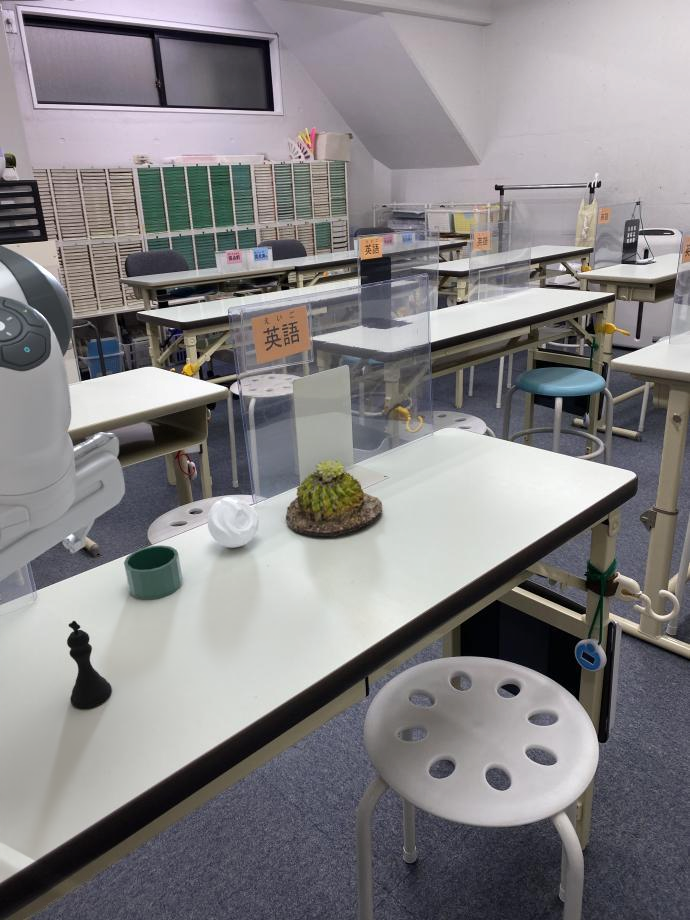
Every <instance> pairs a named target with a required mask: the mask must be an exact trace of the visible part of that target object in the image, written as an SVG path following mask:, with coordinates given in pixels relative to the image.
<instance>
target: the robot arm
mask: <svg viewBox="0 0 690 920" xmlns="http://www.w3.org/2000/svg"><path fill="white" fill-rule="evenodd" d="M73 326H74V317H73V306H72V304H71V300H70V298H69V296H68V293H67V292H66V290H65V289H64V287H63V286H62V284H61V283H60V282H59V280H58V279H56V277H55V276H54V275H52V273H50V272H49V270H47V269H45V268H44V267H43V266H41V265H40V264H39V263H37V262H35V261H34V260H32V259H30V258H29V257H27V256H24V255H22V254H20V253H18V252H17V251H14V250H12V249H10V248H8V247H5V246H4V245H2V244H0V582H1V581H2V580H4V579H6V578H8V577H9V576H10V575H12V574H14V573H15V572H16V571H19V569H21V568H23V567H24V566H26V565H27V564H29V563H30V562H32V561H33V560H35V559H36V558H39V556H41V555H42V554H44V553H45V552H46V551H48V550H50V549H52V548H53V547H55V546H56V545H58V544H60V543H61V542H62V545H63V547H64V548H65V549H66V550H69V552H70V553H71V554H75V553H77V552H78V551H80V550H81V549H83V548H84V547H86V537H87V535H88V534H89V532H90V530H91V529H92V527H93V525H94V523H95V520H96V519H97V518H99V517H100V516H102V515H103V514H105V513H106V512H108V511H110V510H111V509H112V508H114V507H115V506H117V505H119V504H120V502H122V499H123V497H124V495H125V493H126V484H125V477H124V471H123V468H122V464H121V462H120V460H119V458H118V456H119V454H120V440H119V438H118V436H117V434H115V433H111V432H108V433H107V432H106V433H105V432H98V433H95V434H93V435H92V436H91V437H89V439H87V440H84V441H83V442H80V443H78V444H75V445H74V444H73V440H72V438H71V436H70V434H69V432H68V431H69V429H70V425H71V422H72V401H71V392H70V384H69V383H70V382H69V377H68V372H67V368H66V363H65V359H64V357H65V355H66V353H67V351H68V350H69V347H70V344H71V343H70V342H71V340H72V335H73ZM3 602H4V599H3V595H2V592H1V591H0V604H1V603H3Z"/></svg>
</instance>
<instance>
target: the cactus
mask: <svg viewBox="0 0 690 920" xmlns="http://www.w3.org/2000/svg"><path fill="white" fill-rule="evenodd" d="M315 467H316V468H315V470H316V471H315V470H314V471H313V472H312V473H310V474H308V476H307V477H305V478H304V479H303V481H301V483H300V485H298V487H296V490H297V491H296V496H297V497H296V498H294V499H293V500H292V501H291V502H290V503H289V505H288V506H287V508H286V515H285V519H286V522H287V524H288V527H291V528H292V530H293V531H294V532H296V533H298V534H299V533H301V534H303V535H306V536H313V537H327V536H329V537H330V536H331V537H338V536H339V535H340V536H341V535H343V534H349V533H350V532H355V531H356V530H359V529H361V528H364V527H366V526H368V524H372V522H375V521H376V520H378V517H379V516H381V515H382V513H383V503H382V500H380V499H379V498H378V497H376V496H373V495H371V494H368V493H366V492H364V490H363V489H362V483H361V482H360V481H359V479H358V478H354V474H352V475H351V473H349V472H347V471H346V466H345V465H344V464H343V462H340V461H339V460H336V461H334V460H325V459H324V460H323V461H320V462H318V463H317V464H316V465H315Z"/></svg>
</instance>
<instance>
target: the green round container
mask: <svg viewBox="0 0 690 920" xmlns="http://www.w3.org/2000/svg"><path fill="white" fill-rule="evenodd" d="M123 565H124V570H125V575H126V579H127V580H126V581H127V585H128V586H127V587H128V590H129V593H130V596H132V597H134V598H136V599H139V600H146V601H148V600H151V601H152V600H159V599H161V598H164V597H167V596H170V595H172V594H174V593H175V592H176V591H178V590H179V589H180V588H181V586H182V585H183V574H182V567H181V561H180V555H179V552H178V550H177V549H176V548H174V547H172V546H170V545H162V544H159V545H151V546H146V547H142V548H139V549H137V550H135V551H133V552H132V553H130V554H129V555H127V556H126V558H125V560H124V562H123Z"/></svg>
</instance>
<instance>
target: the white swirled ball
mask: <svg viewBox="0 0 690 920" xmlns="http://www.w3.org/2000/svg"><path fill="white" fill-rule="evenodd" d="M206 517H207V529H208V532H209V534H210V536H211V537H212V539H213V540H214V541H215V542H217V544H218V545H219V546H222V547H225V548H229V549H230V548H239V547H240V548H241V547H243V546H245V545H247V544H248V543H249V542H251V541H252V540H253V539H254V538H255V537H256V535H257V533H258V528H259V515H258V513H257V511H256V510H255V509H254V508H253V506H251V504H249V503H247V502H246V501H245V500H243V499H242V498H239V497H235V496H228V497H223V498H222V499H219V500H218V501H216V502H215V503H214V504H213V505H212V506H211V508H210V509H209V511H208V514H207V516H206Z"/></svg>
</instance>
